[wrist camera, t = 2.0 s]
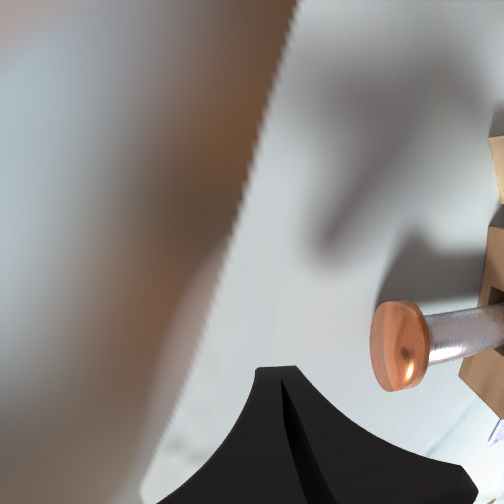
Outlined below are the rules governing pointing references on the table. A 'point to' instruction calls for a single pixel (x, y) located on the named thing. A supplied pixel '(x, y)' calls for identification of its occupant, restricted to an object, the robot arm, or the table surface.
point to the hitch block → (498, 359)
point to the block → (498, 162)
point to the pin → (428, 339)
